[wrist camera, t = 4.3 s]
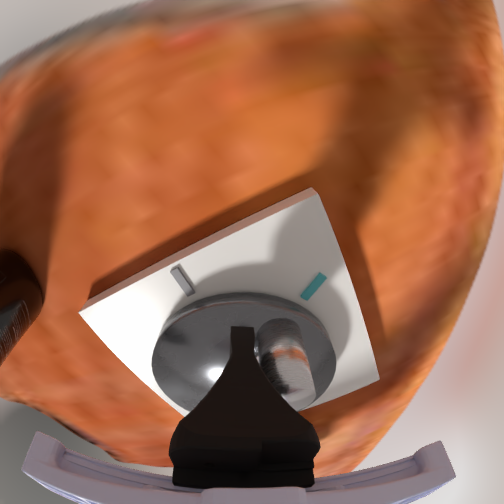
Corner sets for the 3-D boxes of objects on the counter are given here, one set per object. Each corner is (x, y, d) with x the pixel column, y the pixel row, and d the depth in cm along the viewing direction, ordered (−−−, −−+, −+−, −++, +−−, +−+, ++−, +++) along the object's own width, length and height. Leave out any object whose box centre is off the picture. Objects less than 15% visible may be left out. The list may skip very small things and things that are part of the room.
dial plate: (374, 367, 21) (380, 381, 20) (208, 421, 24) (207, 435, 23) (311, 187, 15) (319, 194, 13) (87, 300, 17) (77, 314, 16)
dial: (276, 420, 21) (282, 476, 16) (141, 382, 19) (124, 443, 14) (365, 328, 17) (398, 396, 12) (188, 259, 14) (162, 334, 9)
